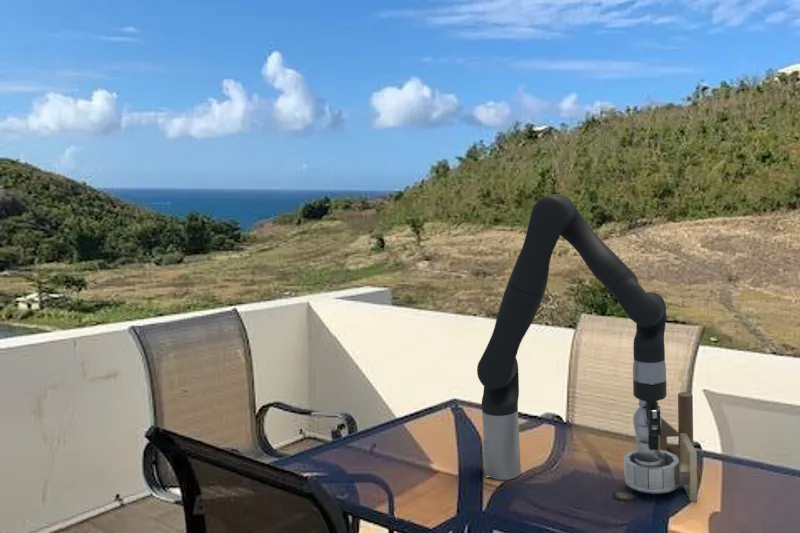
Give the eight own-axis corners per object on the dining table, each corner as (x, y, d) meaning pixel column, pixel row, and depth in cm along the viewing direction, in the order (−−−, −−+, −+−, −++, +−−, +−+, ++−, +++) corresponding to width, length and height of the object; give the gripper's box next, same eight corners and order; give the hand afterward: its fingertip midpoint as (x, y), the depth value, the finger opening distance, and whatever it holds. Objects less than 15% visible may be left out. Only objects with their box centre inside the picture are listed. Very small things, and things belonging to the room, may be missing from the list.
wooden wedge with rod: (650, 458, 210) (648, 393, 208) (691, 456, 210) (690, 391, 207) (653, 464, 207) (652, 397, 204) (695, 462, 206) (695, 395, 203)
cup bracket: (628, 501, 187) (627, 453, 185) (622, 479, 199) (621, 433, 197) (697, 501, 184) (696, 452, 183) (686, 479, 197) (686, 433, 195)
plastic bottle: (664, 482, 189) (663, 402, 186) (635, 481, 190) (633, 402, 187) (661, 470, 195) (660, 393, 192) (633, 470, 197) (631, 393, 193)
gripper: (629, 369, 195) (630, 431, 198) (637, 387, 181) (638, 454, 184) (660, 368, 194) (662, 431, 197) (671, 386, 180) (672, 454, 183)
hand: (650, 442), depth 190 cm, fingers open, 8 cm apart
